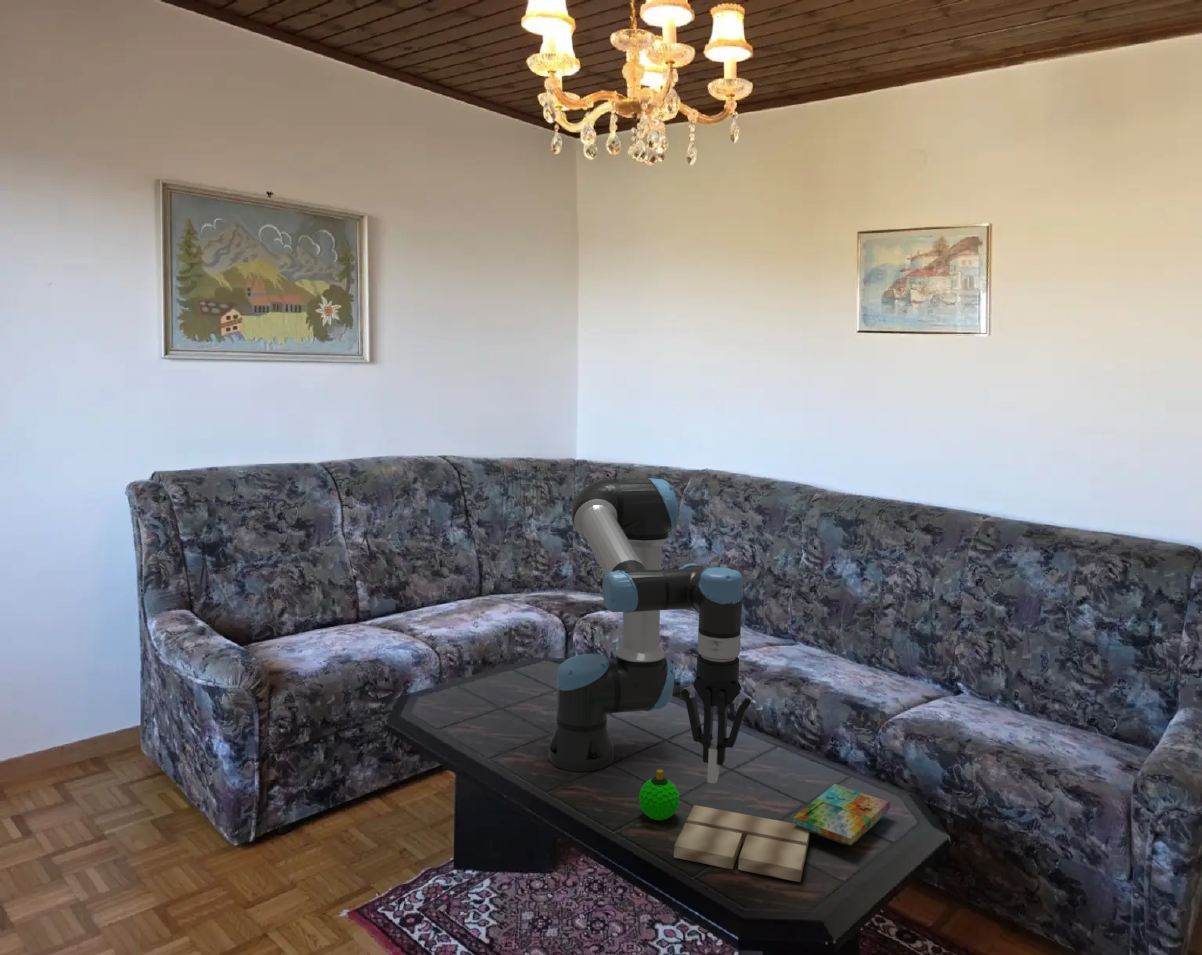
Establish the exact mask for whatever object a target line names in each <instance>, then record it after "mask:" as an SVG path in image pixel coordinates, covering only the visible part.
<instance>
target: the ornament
mask: <svg viewBox="0 0 1202 955" xmlns="http://www.w3.org/2000/svg"><path fill="white" fill-rule="evenodd" d="M663 775H664V770H663V769H657V770H656V776H654V777H652V778H650V779H648V780H647V781H645V782H644V784H643V785H642V786H641V788H640V790H639V793H638V795H639V796H638V802H639V805H640V809H641V811H642V812H643V813H644V814H645V816H648V818H650V819H653V820H655V821H664V820H668V819H669V818H670V817H672V816H674V814H675V813H676V812H677V809H678V807H679V804H680V795H679V791H678V789H677V786H676V785H675V784H674V783H673V782H672V781H671V780H669V779H667V778H666V777H664V776H663Z"/></svg>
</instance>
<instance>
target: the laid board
mask: <svg viewBox="0 0 1202 955" xmlns="http://www.w3.org/2000/svg"><path fill="white" fill-rule="evenodd" d="M685 823H690V824H695V825H700V826H706V827H711V828H716V829H721V830H726V831H732V832H737V833H742V844H741V845H742V846H743V845H744V842H745V839H746V836H747V835H752V836H758V837H763V838H768V839H773V840H778V841H783V842H789V843H794V844H799V845H804V846H806V854H807V853H808V847H809V843H810V838H811V832H810V830H809V829H807V828H804V827H801V826H799V825H796V824H793V823H792V822H788V821H783V820H778V819H777V820H776V819H770V818H768V817H767V818H766V817H762V816H755V815H750V814H744V813H739V812H735V811H729V810H723V809H719V808H712V807H708V806H701V805H695V804H694V805H693V806H692V808H691V810H690V813H689V815H688V817H687V819H686V820H685Z"/></svg>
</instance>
